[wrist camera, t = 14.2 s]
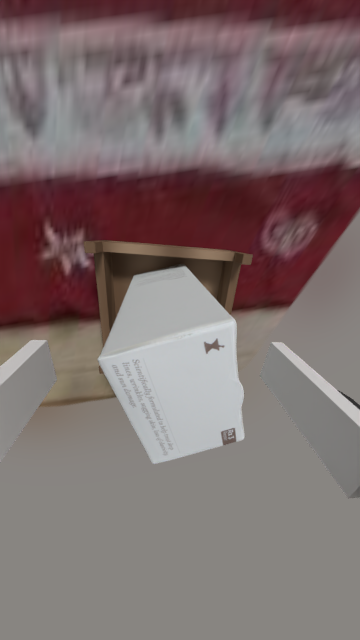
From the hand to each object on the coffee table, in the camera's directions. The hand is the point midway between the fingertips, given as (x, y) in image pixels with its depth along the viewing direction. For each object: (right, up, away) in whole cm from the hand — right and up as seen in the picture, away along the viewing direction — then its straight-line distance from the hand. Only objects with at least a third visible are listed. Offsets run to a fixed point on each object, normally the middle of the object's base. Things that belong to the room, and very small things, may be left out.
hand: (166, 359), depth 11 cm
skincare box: (-1, +5, +11) cm, 12 cm away
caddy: (-1, +5, +12) cm, 13 cm away
